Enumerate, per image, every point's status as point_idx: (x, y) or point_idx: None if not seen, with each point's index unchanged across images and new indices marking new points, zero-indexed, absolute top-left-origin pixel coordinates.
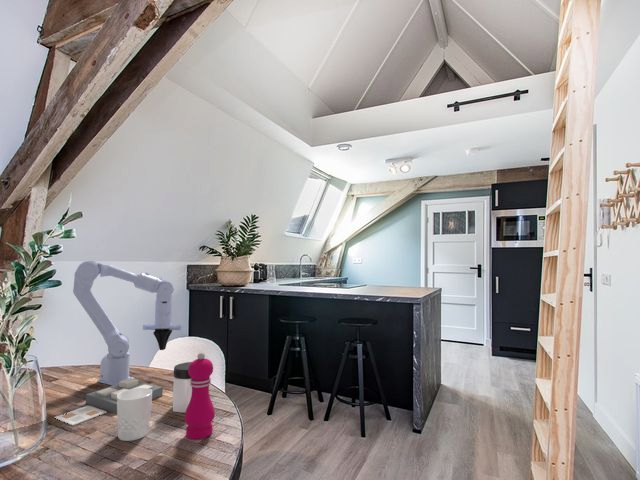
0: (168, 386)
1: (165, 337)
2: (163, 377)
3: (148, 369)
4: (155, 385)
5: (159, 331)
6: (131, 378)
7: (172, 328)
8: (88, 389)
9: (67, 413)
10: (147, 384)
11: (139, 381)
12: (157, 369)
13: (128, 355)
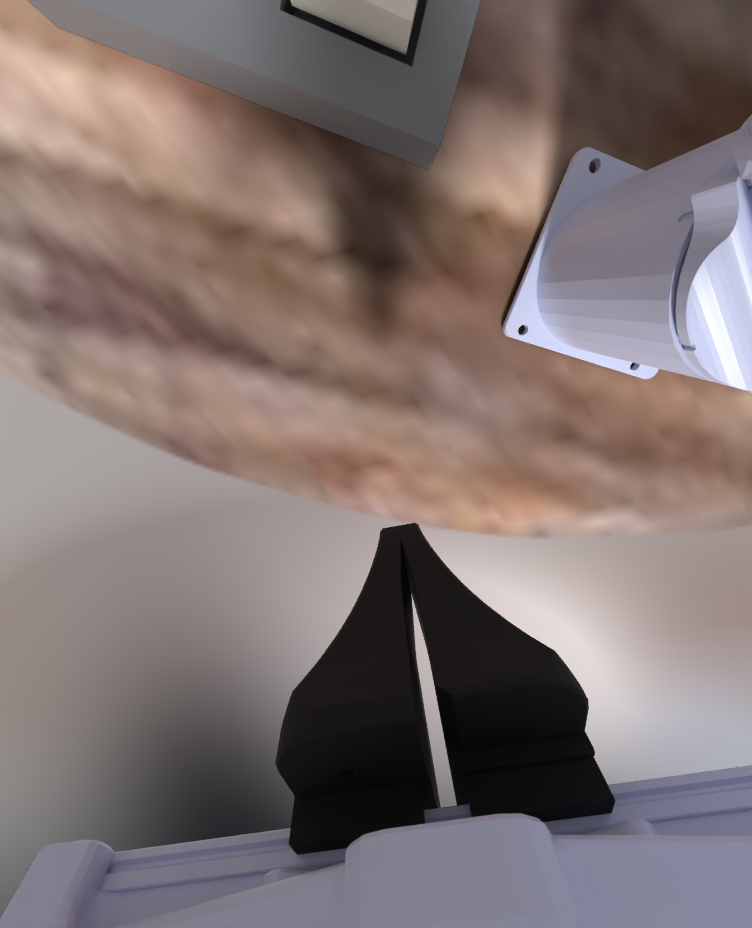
0: (189, 261)
1: (333, 640)
2: (348, 412)
3: (517, 506)
4: (102, 8)
5: (484, 748)
6: (392, 5)
7: (241, 881)
8: (748, 21)
9: None
10: (203, 24)
11: (339, 102)
12: (467, 516)
13: (680, 323)
